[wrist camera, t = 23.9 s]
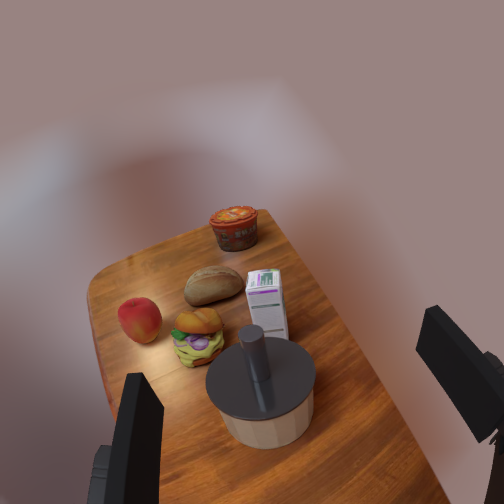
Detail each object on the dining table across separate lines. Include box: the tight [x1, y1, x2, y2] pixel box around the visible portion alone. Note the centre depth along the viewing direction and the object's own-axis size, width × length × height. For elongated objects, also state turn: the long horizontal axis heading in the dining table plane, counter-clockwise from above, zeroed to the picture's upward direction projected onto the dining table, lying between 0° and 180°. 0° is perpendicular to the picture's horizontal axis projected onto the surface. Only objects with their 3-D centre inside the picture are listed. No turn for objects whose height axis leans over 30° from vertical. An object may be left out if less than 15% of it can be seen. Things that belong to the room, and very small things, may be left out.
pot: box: [219, 389, 313, 449], centre depth 39 cm, size 14×14×9 cm
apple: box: [118, 297, 162, 344], centre depth 59 cm, size 10×10×10 cm
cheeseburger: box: [171, 308, 226, 368], centre depth 55 cm, size 10×11×10 cm
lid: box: [206, 325, 316, 421], centre depth 35 cm, size 15×15×9 cm
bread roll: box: [184, 266, 243, 306], centre depth 70 cm, size 10×15×8 cm, turn 108°
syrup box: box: [245, 269, 289, 340], centre depth 52 cm, size 6×6×14 cm
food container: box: [209, 206, 258, 252], centre depth 97 cm, size 16×16×11 cm
